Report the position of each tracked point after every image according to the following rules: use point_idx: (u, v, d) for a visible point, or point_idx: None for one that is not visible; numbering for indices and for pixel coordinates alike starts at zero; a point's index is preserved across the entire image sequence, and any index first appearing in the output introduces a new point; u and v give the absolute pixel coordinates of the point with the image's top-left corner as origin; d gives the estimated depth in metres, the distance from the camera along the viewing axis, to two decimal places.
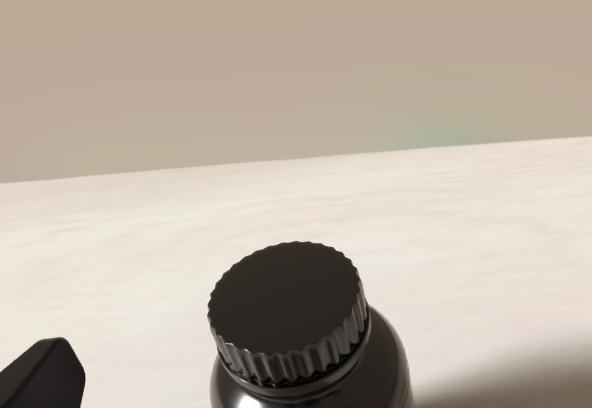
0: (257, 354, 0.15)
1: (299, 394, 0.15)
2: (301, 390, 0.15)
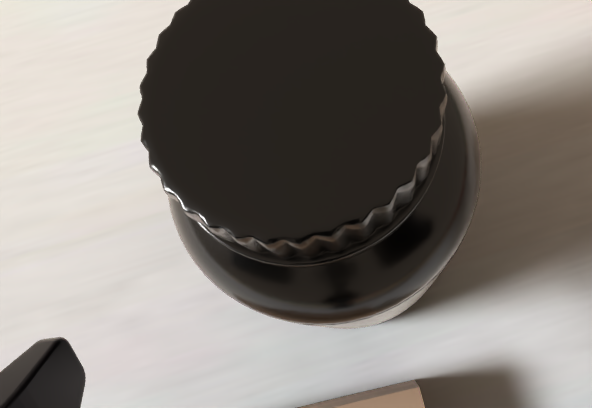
0: (248, 238, 0.08)
1: (321, 266, 0.09)
2: (325, 263, 0.09)
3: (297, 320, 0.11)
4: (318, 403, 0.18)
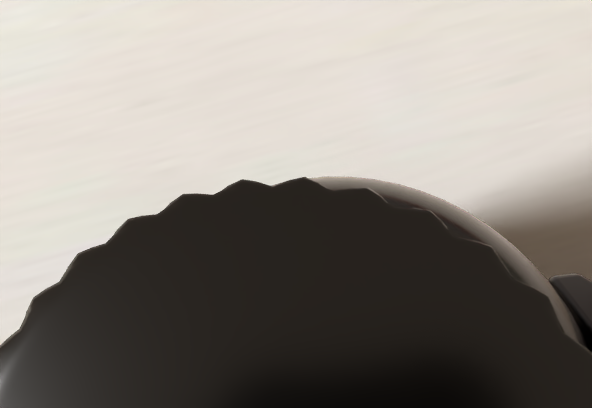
0: None
1: None
2: None
3: None
4: None
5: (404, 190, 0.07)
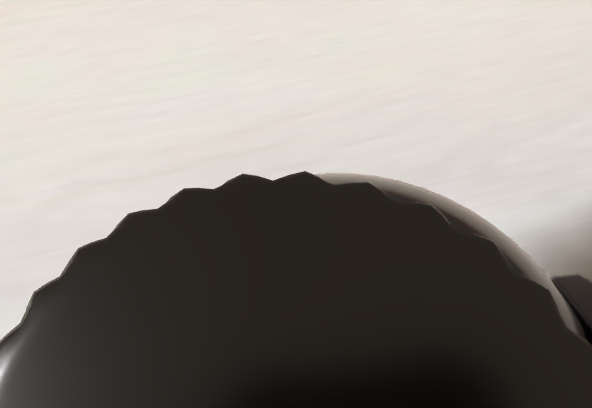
0: None
1: None
2: None
3: None
4: None
5: (405, 186, 0.07)
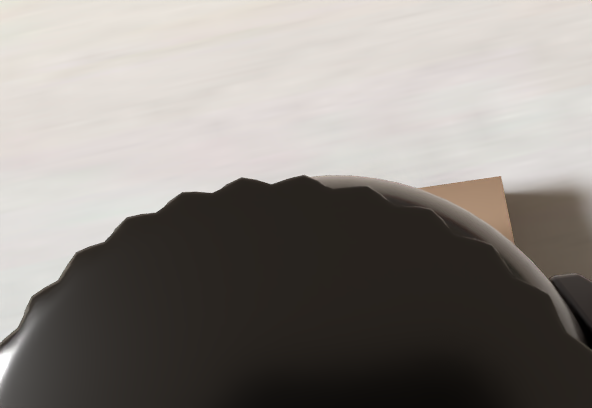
0: None
1: None
2: None
3: None
4: None
5: (404, 188, 0.07)
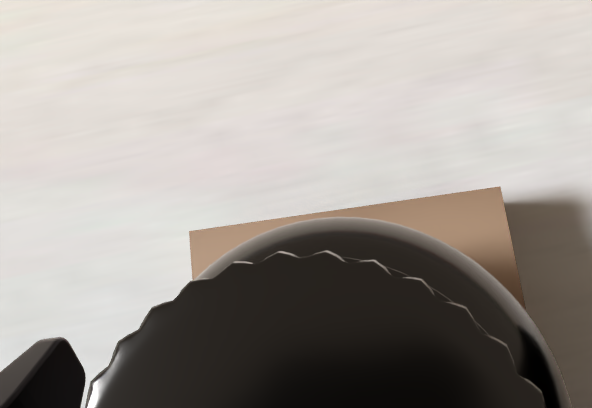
0: None
1: None
2: None
3: None
4: None
5: (403, 231, 0.08)
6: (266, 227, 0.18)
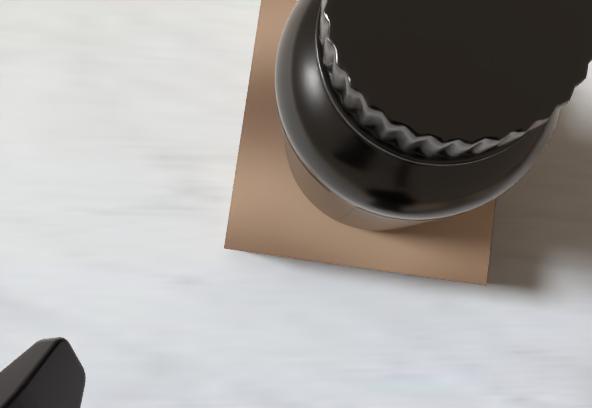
0: (400, 127, 0.09)
1: (427, 166, 0.11)
2: (433, 165, 0.10)
3: (368, 206, 0.13)
4: None
5: None
6: None
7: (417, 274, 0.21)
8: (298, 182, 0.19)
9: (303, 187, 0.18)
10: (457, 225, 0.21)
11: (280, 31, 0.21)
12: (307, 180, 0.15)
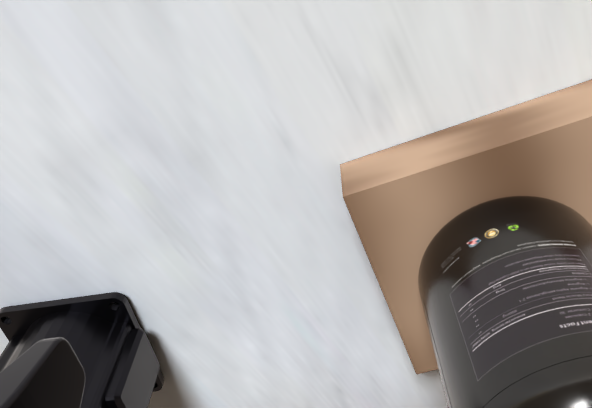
0: None
1: None
2: None
3: None
4: None
5: None
6: None
7: (401, 334, 0.23)
8: (444, 267, 0.19)
9: (443, 286, 0.18)
10: None
11: None
12: (461, 359, 0.16)
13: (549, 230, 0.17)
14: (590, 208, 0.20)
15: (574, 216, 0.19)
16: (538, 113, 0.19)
